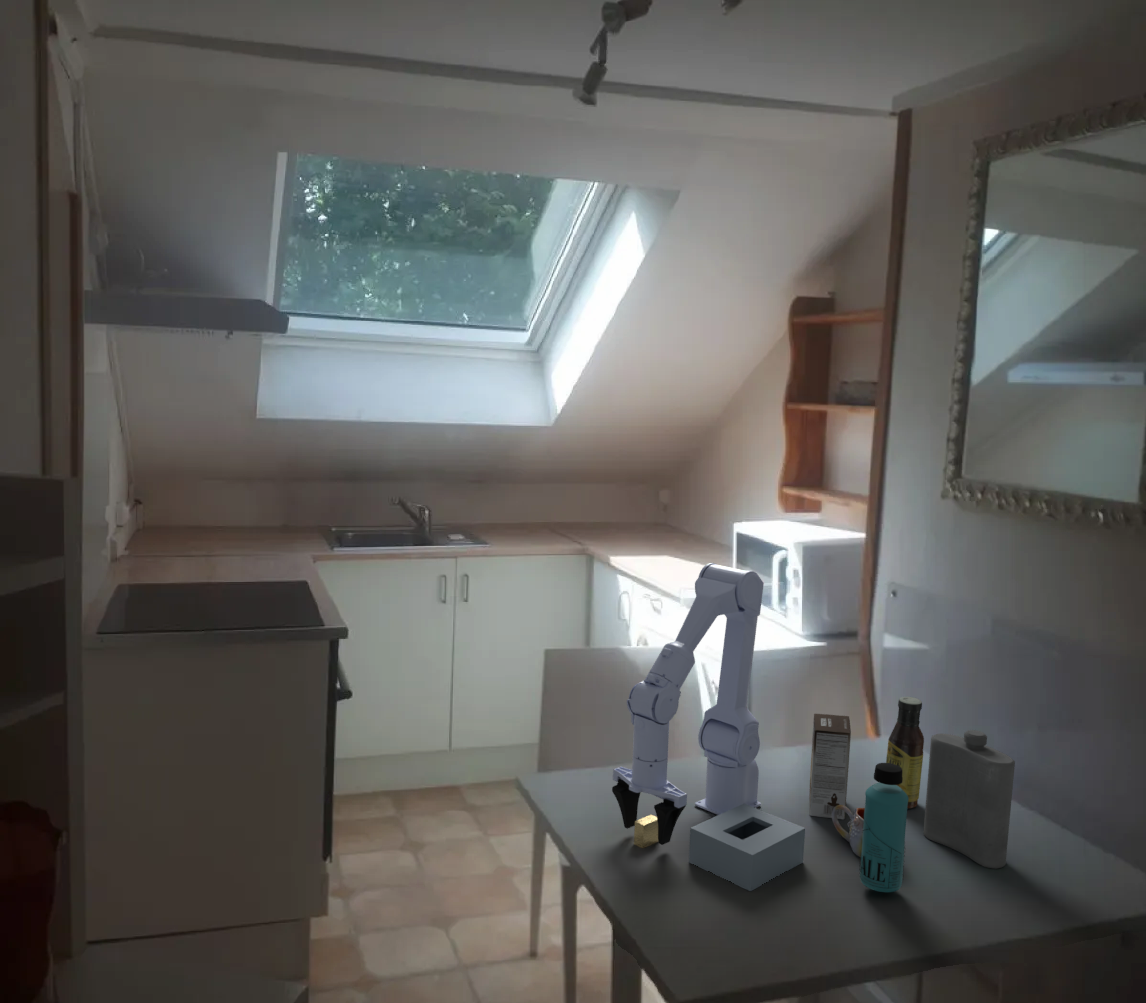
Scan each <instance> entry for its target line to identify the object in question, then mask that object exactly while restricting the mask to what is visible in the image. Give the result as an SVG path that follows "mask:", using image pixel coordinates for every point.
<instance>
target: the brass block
mask: <svg viewBox="0 0 1146 1003" xmlns="http://www.w3.org/2000/svg"><path fill="white" fill-rule="evenodd" d="M656 843H659V841H658V820H657V815H656V816H655V815H653V814H649V815H646V816H645V817H644V816H643V817H641V818H639V819H637V820H636V821H635V826H634V835H633V845H635V846H636V847H638V848H641V849H645V848H647V847H649V846H652V845H654V844H656Z"/></svg>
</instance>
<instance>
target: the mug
mask: <svg viewBox="0 0 1146 1003" xmlns="http://www.w3.org/2000/svg"><path fill="white" fill-rule="evenodd" d="M839 809H842V810H844V811H845V814H847V815H848V817H849V819H850V820H849V821H848V822H847V827H848V829H849V830H848V831H849V832H848V831H847V830H846V829H844V828H843V827H842V825H841V823H840V822H839V819H838V818H837V812H838V810H839ZM863 809H864V810H863ZM864 811H865V807H856V808H855V810H854V812H852V811H851V809H850V808H848V807H847V805H846V806H844V805H837V806H836V807H834V809H833V810H832V818H831V820H832V823H833V825H834V827H835V829H836V831H837V832H838V834H839V835H840V836H842V838H843V839H844V840H846V841H847V843H849V845H850V849H851V850H852V852H853V854H855V855H856V856H857V857H859V858H861V856H860V855H861V853H860V851H861V852H862V846H861V845H862V844H861V843H862V842H861V841H862V840H861V839H863V838H862V837H863V833H862V832H863V829H862V828H863V827H862V825H864V814H863V812H864Z"/></svg>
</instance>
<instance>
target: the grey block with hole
mask: <svg viewBox="0 0 1146 1003" xmlns="http://www.w3.org/2000/svg"><path fill="white" fill-rule="evenodd" d="M689 833H690V834H689V850H688V852H689V853H688V863H689V864H692V865H693V864H694V865H693V866H695V865H696V866H695V867H697V866H698V867H697V868H700V869H702V870H704V871H706V872H708V871H710V872H712V873H713V874H712V873H711V874H712V875H714V874H715V876H717V877H719V876H720V877H719V878H721V877H722V878H721V879H723V878H724V879H723V880H725V879H726V880H725V881H727V880H728V881H727V882H729V881H731V882H732V883H731V882H730V883H731V884H733V883H734V884H733V885H736V886H738V887H739V888H742V889H744V890H746V891H748V892H752V891H754V890H755V889H757V888H759V887H761V886H763V885H765V884H766V882H767V883H769V882H770V881H772V880H774V879H775V877H776V876H778V877H779V876H781V875H783V874H785V873H786V872H785V871H787V872H788V871H789V870H793V868H796V867H798V866H799V865H800V864H802V863H804V853H805V838H806V828H805V827H804V826H801V825H799V824H796V823H793V822H791V821H788V820H786V819H784V818H782V817H779V816H776V815H774V814H771V813H768V812H766V811H764V810H761V809H759V808H758V807H756V808H754V807H752V806H749V805H747V804H742V805H740V806H738V807H735V808H733V809H731V810H729V811H726V812H724V813H722V814H720V815H716V816H713V817H711V818H709V819H707V820H703V821H702V822H700V823H698V824H696V825H694V826H691V827H690V831H689ZM710 872H709V873H710ZM784 872H785V873H784ZM782 873H783V874H782ZM780 874H781V875H780ZM773 878H774V879H773ZM776 878H777V877H776ZM771 879H772V880H771ZM769 880H770V881H769ZM764 883H765V884H764ZM762 884H763V885H762Z"/></svg>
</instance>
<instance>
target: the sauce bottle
mask: <svg viewBox="0 0 1146 1003" xmlns="http://www.w3.org/2000/svg"><path fill="white" fill-rule="evenodd" d="M897 701H898V702H897V706H898V712H897V718H896V722H895V724H894V727H893V729H892V731H891V733H890V735H889V737H888V741H887V742H888V743H887V750H886V751H887V752H886V758H885V763H892V764H895V765H898V766H900V767H901V768H902V777H903V781H902V783H901V784H899V785H897V786H899V787H900V788H901V789H902V790H903V791H904V792H905V793H906V794H907V796H908V798H909V800H908V806H907V810H909V809H915V808H916V807H917V806H918V801H919V798H920V790H921V779H922V771H923V770H922V768H923V762H924V761H923V760H924V745H925V738H924V734H923V732H922V730H921V727H920V722H921V721H920V717H921V716H920V715H921V711H922V708H923V701H922V700H921V699H919V698H917V697H912V696H901V697H899V698H898V700H897Z"/></svg>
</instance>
